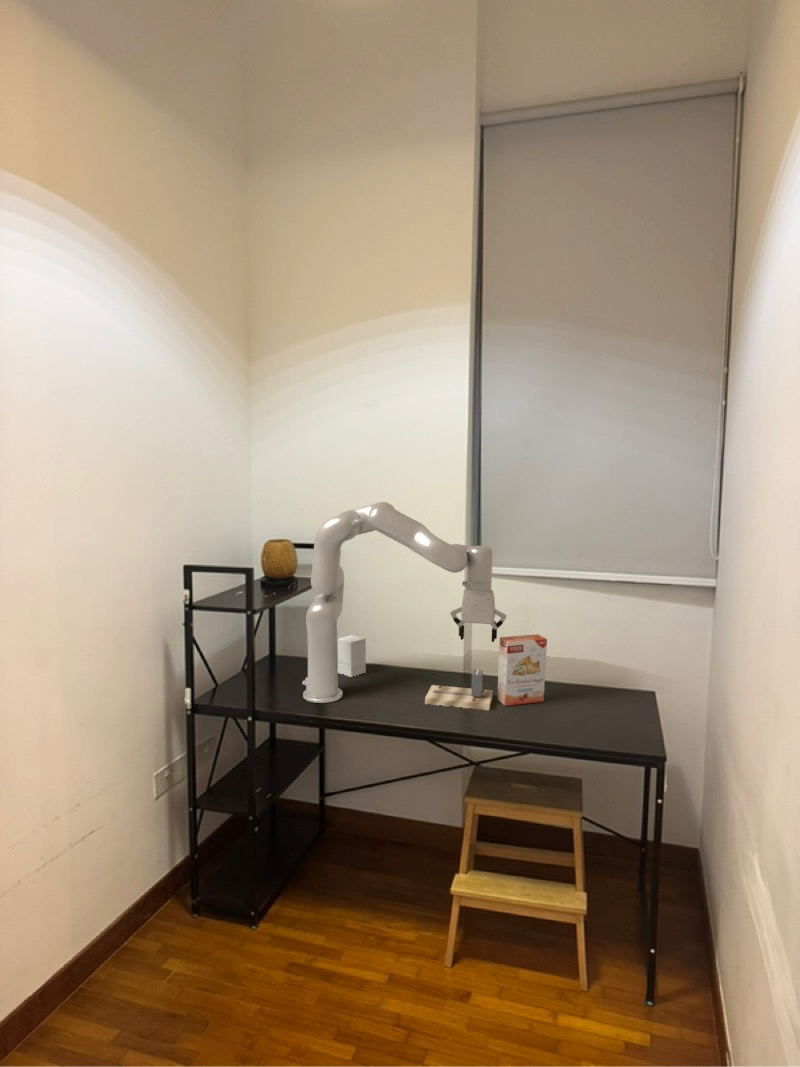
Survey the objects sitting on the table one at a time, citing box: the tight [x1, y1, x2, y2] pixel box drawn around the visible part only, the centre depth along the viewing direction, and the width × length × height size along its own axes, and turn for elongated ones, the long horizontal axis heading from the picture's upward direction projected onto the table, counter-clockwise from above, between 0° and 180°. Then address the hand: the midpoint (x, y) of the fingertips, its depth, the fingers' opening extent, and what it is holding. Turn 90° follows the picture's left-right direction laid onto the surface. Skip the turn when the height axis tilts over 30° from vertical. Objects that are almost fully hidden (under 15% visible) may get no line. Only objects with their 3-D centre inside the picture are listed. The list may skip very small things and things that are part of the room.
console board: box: [424, 684, 494, 711], centre depth 219 cm, size 20×12×2 cm, turn 77°
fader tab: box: [471, 669, 484, 697], centre depth 217 cm, size 3×4×7 cm, turn 167°
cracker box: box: [496, 633, 548, 707], centre depth 217 cm, size 14×6×21 cm, turn 109°
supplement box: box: [338, 634, 367, 678], centre depth 243 cm, size 7×7×13 cm
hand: (477, 639), depth 215 cm, fingers open, 9 cm apart
